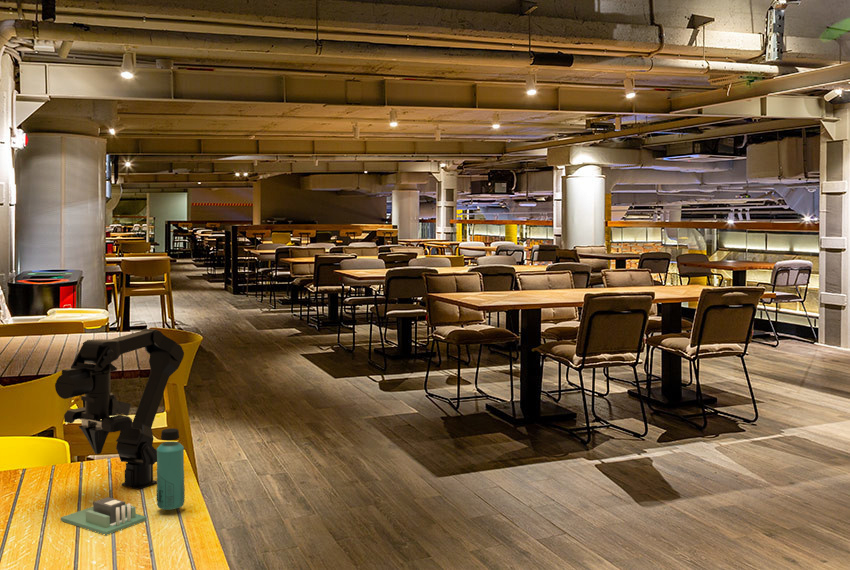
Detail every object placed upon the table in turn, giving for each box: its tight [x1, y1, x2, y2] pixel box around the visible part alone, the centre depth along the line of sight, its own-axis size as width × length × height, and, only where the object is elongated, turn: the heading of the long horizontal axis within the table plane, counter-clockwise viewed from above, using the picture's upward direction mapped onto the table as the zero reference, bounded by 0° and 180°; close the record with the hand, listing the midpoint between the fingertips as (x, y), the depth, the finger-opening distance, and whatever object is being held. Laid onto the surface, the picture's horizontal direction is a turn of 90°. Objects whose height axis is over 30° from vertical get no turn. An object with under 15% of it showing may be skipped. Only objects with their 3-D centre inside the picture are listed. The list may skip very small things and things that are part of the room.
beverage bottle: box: [155, 428, 186, 510], centre depth 184 cm, size 6×7×20 cm
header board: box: [60, 502, 148, 536], centre depth 178 cm, size 16×11×5 cm
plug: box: [92, 496, 126, 524], centre depth 177 cm, size 6×4×4 cm, turn 59°
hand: (98, 453), depth 190 cm, fingers closed
